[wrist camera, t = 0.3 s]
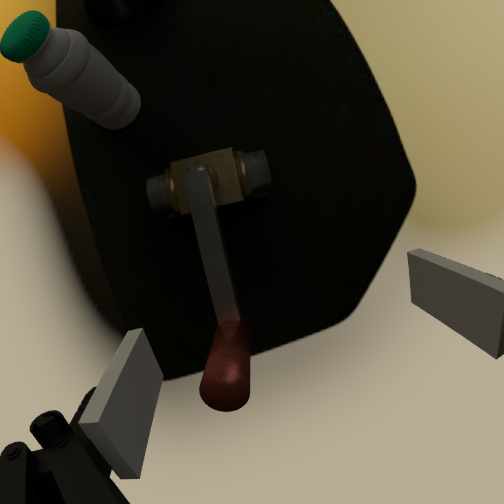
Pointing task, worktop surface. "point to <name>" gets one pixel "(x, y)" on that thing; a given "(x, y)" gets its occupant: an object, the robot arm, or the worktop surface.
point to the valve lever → (219, 302)
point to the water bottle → (70, 70)
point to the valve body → (223, 181)
